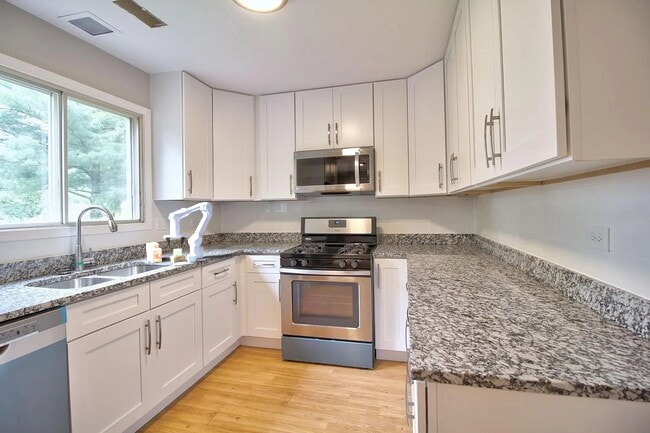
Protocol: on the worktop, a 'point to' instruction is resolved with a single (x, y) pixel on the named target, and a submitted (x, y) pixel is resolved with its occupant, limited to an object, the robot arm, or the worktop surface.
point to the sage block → (177, 252)
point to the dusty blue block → (191, 258)
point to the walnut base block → (177, 259)
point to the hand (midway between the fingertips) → (175, 247)
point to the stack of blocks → (154, 252)
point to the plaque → (181, 264)
